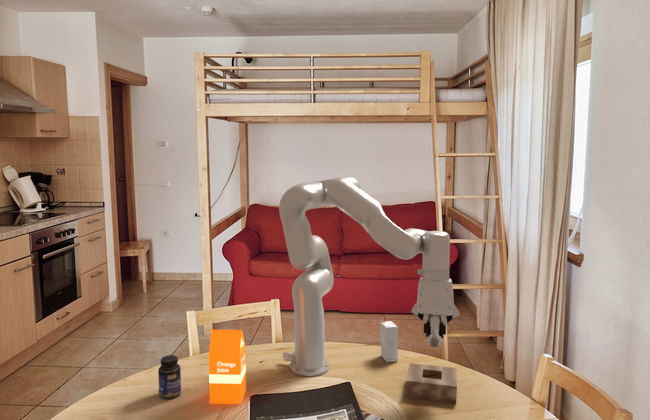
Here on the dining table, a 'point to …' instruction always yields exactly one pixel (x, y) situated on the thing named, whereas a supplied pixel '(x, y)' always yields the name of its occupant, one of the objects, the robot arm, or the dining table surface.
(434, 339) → the pin
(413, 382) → the socket block
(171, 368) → the pill bottle
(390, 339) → the skincare box
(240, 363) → the orange juice
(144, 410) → the dining table surface
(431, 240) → the robot arm
